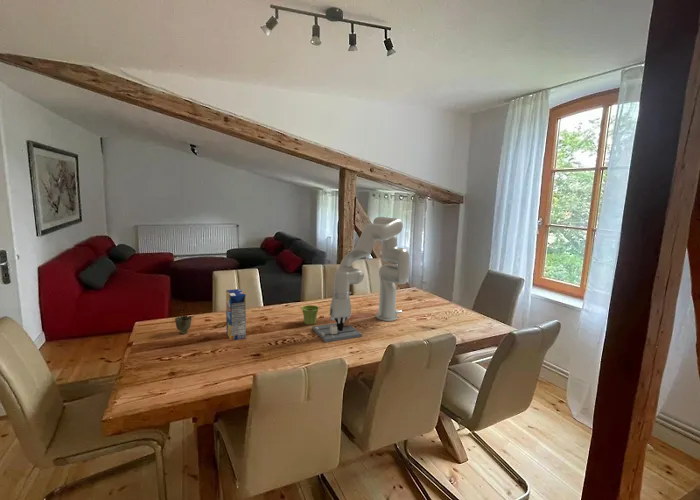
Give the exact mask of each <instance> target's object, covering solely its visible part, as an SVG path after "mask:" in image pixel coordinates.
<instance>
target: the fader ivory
mask: <svg viewBox="0 0 700 500" xmlns="http://www.w3.org/2000/svg"><path fill="white" fill-rule="evenodd" d="M330 333H331V334H337V326H336V325H333V326H330Z"/></svg>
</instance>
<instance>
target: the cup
mask: <svg viewBox="0 0 700 500" xmlns="http://www.w3.org/2000/svg"><path fill="white" fill-rule="evenodd" d="M174 321H175V327H176V330H177V331H179V334H181V335H185V334H187V333H188V331H189V329H190V328H191V325H192V316H191V315H189V316H188V315H185V314H184V315H180V316H176V317H175V318H174Z"/></svg>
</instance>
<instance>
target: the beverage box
mask: <svg viewBox="0 0 700 500" xmlns="http://www.w3.org/2000/svg"><path fill="white" fill-rule="evenodd" d="M246 296H247V295H246V293H245V292H244V291H243V290H242V289H241V288H236V289H235V288H234V289H226V290H225V304H226V305H225V308H226V309H225V311H226V313H225V314H226V321H225V322H226V324H225V325H226V334H227V336H228V338H229V339H230V341H239V340H240V341H241V340H246V339H247V306H246V305H247V299H246V298H247V297H246Z"/></svg>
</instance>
